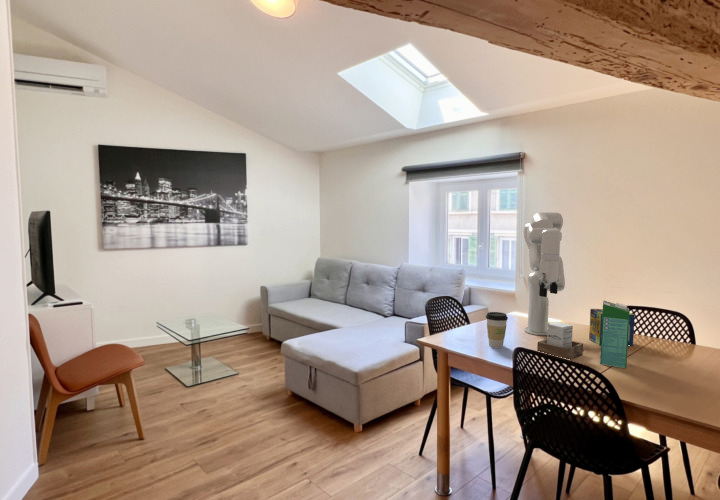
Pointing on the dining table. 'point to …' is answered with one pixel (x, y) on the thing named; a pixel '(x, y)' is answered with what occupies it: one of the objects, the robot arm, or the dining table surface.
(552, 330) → the supplement box
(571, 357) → the bin
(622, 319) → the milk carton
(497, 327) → the coffee cup
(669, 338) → the dining table surface
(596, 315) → the protein box
